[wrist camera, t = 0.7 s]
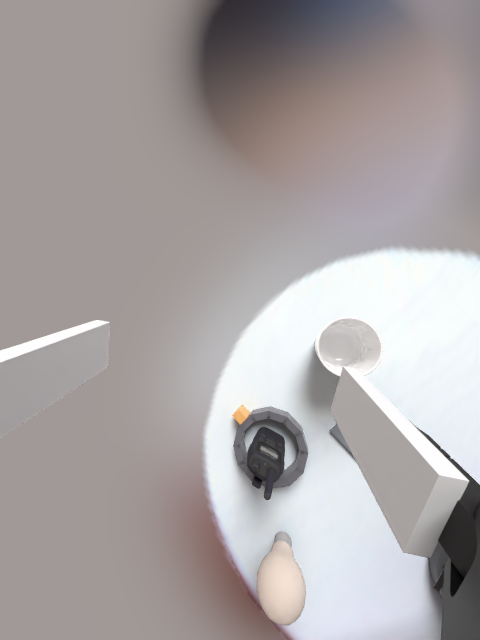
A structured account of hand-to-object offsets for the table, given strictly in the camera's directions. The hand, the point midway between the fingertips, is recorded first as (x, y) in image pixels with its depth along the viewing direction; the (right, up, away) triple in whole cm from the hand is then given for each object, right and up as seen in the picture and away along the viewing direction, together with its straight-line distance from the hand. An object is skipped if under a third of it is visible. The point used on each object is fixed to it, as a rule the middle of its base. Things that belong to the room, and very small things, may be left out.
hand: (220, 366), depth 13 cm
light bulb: (+8, -34, +26) cm, 43 cm away
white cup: (+17, -2, +26) cm, 32 cm away
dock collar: (+6, -18, +28) cm, 34 cm away
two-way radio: (+6, -19, +28) cm, 34 cm away
